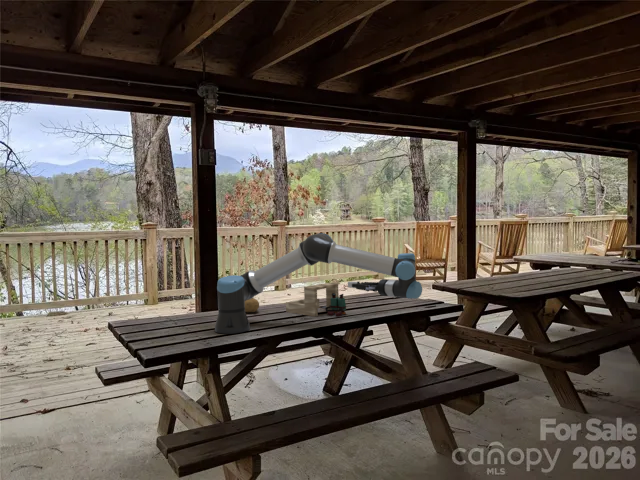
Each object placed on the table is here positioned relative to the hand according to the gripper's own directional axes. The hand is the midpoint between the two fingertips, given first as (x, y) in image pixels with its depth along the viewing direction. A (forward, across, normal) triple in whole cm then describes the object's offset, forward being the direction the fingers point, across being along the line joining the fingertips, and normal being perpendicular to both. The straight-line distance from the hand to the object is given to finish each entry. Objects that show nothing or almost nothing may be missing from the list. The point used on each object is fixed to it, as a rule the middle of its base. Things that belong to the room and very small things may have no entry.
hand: (348, 284), depth 226 cm
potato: (+51, -21, -16) cm, 57 cm away
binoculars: (+9, 0, -16) cm, 18 cm away
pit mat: (+25, +14, -16) cm, 33 cm away
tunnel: (+25, 0, -16) cm, 30 cm away
